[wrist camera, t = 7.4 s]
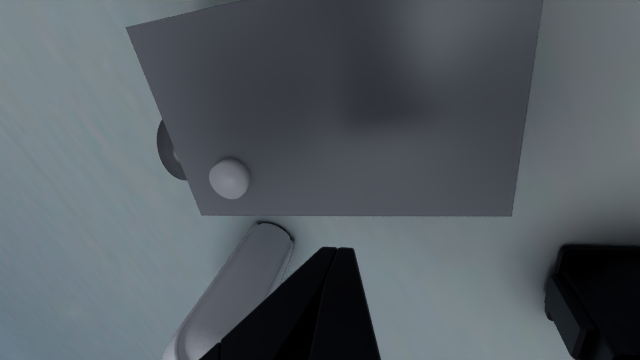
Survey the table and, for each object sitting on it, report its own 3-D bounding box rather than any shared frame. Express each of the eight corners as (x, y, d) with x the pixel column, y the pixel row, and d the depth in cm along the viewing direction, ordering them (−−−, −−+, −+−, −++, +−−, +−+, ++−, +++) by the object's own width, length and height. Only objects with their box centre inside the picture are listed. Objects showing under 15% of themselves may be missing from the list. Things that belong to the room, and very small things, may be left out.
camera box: (500, -44, 13) (565, -84, 8) (483, 163, 18) (516, 226, 12) (174, 27, 18) (81, 32, 13) (224, 174, 23) (170, 222, 17)
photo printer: (267, 306, 29) (191, 469, 19) (228, 287, 29) (130, 439, 19) (303, 236, 24) (223, 409, 13) (255, 212, 24) (137, 367, 13)
